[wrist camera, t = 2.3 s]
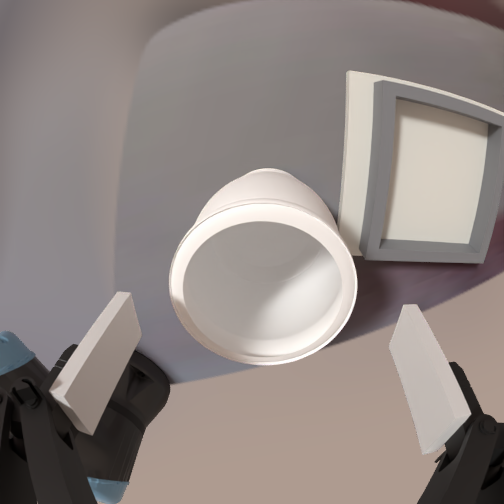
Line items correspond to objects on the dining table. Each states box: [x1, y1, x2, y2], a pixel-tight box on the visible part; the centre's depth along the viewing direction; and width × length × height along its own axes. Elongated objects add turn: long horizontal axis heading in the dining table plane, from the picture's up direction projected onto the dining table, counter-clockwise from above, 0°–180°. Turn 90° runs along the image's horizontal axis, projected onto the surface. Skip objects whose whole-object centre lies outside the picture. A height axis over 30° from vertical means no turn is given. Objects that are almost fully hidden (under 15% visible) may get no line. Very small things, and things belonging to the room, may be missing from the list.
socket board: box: [337, 71, 504, 263], centre depth 24 cm, size 20×18×4 cm
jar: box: [169, 168, 357, 365], centre depth 22 cm, size 11×10×15 cm
